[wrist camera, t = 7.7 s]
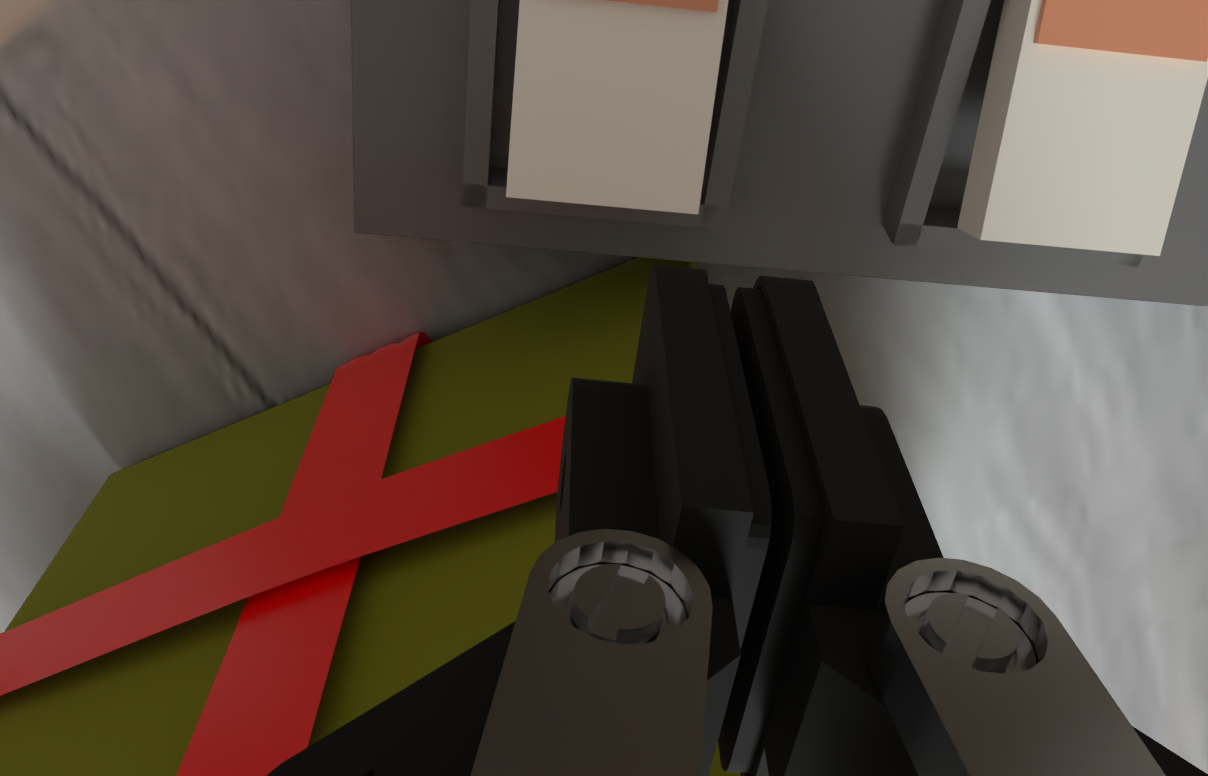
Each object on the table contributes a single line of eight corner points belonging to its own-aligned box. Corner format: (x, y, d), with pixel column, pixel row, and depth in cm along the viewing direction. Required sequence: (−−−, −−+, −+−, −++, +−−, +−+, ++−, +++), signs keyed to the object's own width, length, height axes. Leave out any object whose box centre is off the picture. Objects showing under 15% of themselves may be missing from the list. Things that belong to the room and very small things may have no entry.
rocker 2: (1204, -52, 20) (1249, -56, 19) (1128, 243, 22) (1164, 257, 21) (1019, -74, 20) (1052, -80, 19) (957, 227, 22) (983, 241, 21)
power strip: (1725, -146, 23) (1922, -111, 20) (1462, 275, 28) (1582, 358, 25) (372, -325, 20) (335, -320, 17) (374, 176, 26) (347, 254, 23)
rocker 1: (733, -111, 19) (746, -113, 18) (690, 199, 22) (699, 217, 20) (530, -135, 19) (529, -139, 18) (507, 182, 21) (505, 199, 20)
